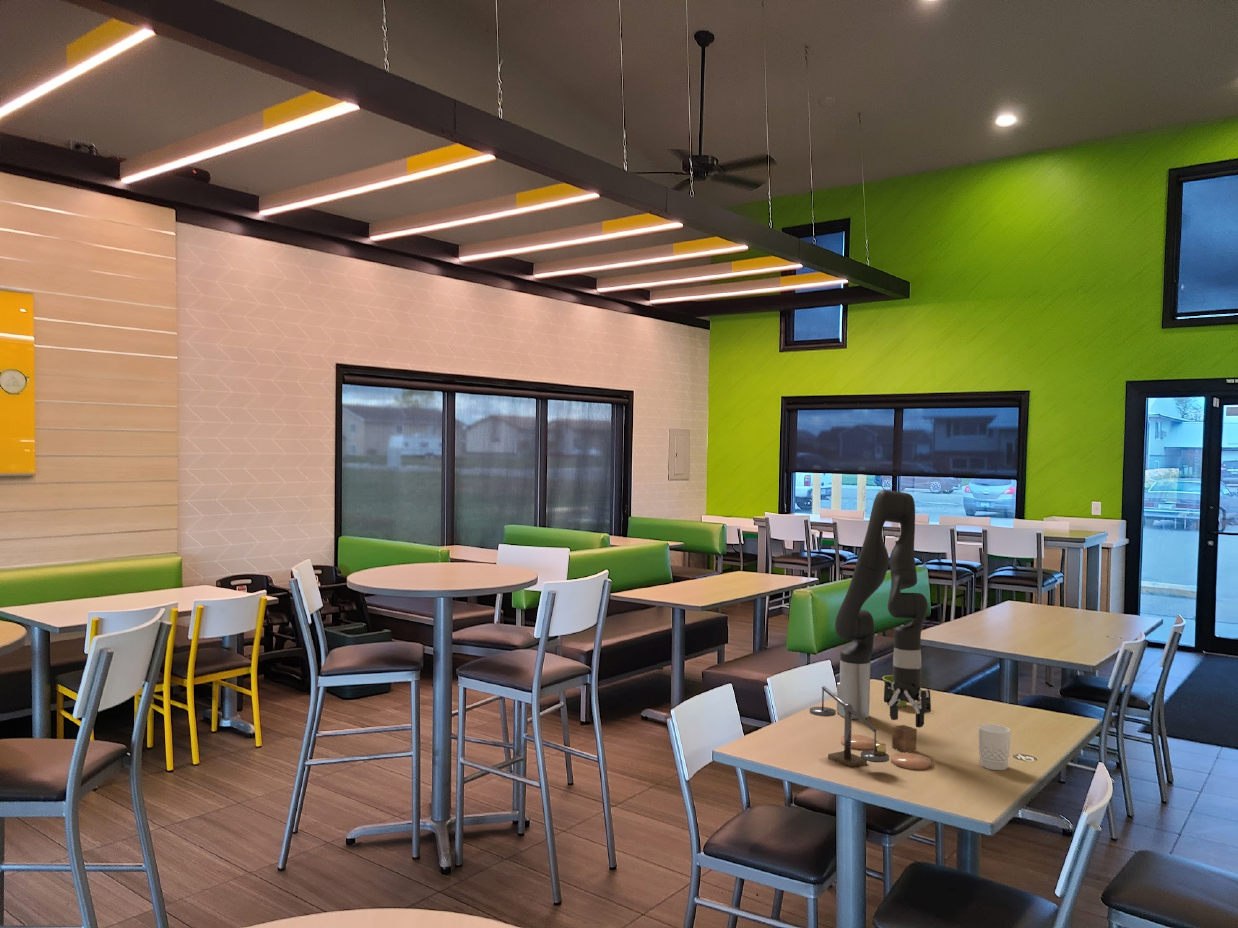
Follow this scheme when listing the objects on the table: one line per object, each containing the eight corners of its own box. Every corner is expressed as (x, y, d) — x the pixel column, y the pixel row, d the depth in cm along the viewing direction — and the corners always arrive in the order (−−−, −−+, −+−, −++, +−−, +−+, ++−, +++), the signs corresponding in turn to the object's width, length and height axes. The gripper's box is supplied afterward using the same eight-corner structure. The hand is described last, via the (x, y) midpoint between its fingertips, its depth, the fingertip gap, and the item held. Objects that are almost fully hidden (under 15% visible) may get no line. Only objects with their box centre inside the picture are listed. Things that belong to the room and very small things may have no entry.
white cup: (993, 759, 235) (994, 722, 236) (1016, 769, 228) (1017, 731, 228) (970, 762, 233) (971, 725, 233) (993, 772, 225) (994, 733, 225)
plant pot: (916, 708, 287) (917, 681, 287) (889, 708, 286) (890, 682, 286) (903, 700, 296) (904, 675, 296) (877, 701, 295) (877, 675, 295)
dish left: (833, 741, 248) (833, 737, 248) (858, 736, 253) (858, 732, 253) (860, 751, 240) (860, 747, 240) (885, 746, 245) (885, 742, 245)
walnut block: (892, 748, 244) (892, 726, 244) (903, 745, 246) (903, 724, 246) (905, 752, 240) (905, 730, 240) (916, 750, 242) (916, 728, 242)
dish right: (882, 760, 233) (882, 755, 233) (908, 754, 238) (908, 750, 238) (913, 771, 224) (913, 767, 224) (938, 765, 230) (938, 761, 230)
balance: (803, 749, 241) (804, 684, 241) (822, 745, 244) (823, 681, 245) (875, 778, 219) (876, 706, 219) (894, 773, 222) (896, 703, 223)
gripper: (877, 661, 247) (877, 718, 247) (919, 670, 235) (918, 731, 235) (895, 658, 251) (895, 715, 251) (937, 667, 239) (937, 727, 239)
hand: (906, 723), depth 243 cm, fingers open, 8 cm apart
